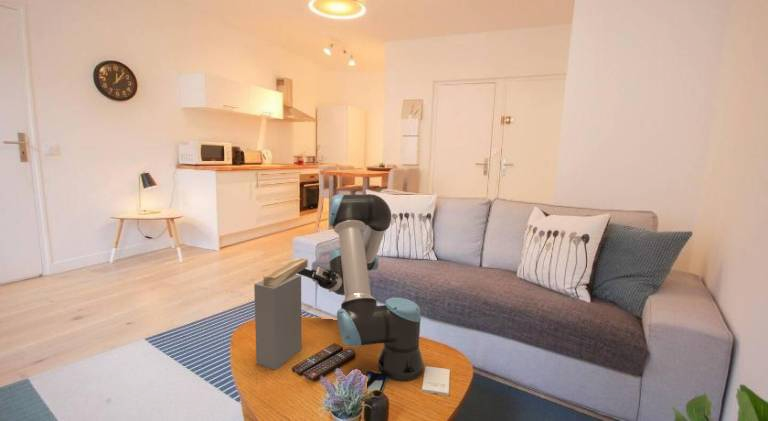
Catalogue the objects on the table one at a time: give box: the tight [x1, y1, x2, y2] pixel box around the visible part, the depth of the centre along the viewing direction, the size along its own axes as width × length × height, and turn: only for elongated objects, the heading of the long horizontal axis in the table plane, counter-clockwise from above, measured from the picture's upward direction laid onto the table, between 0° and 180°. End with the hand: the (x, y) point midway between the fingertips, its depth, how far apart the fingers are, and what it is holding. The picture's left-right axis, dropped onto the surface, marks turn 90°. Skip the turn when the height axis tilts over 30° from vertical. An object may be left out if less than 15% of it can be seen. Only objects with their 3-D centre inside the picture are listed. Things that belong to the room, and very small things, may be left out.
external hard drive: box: [421, 365, 451, 397], centre depth 118 cm, size 2×8×12 cm
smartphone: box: [364, 370, 389, 393], centre depth 114 cm, size 7×1×15 cm
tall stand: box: [253, 274, 303, 371], centre depth 127 cm, size 8×14×28 cm, turn 156°
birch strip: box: [262, 257, 309, 287], centre depth 129 cm, size 4×22×3 cm, turn 163°
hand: (302, 267), depth 138 cm, fingers open, 13 cm apart
